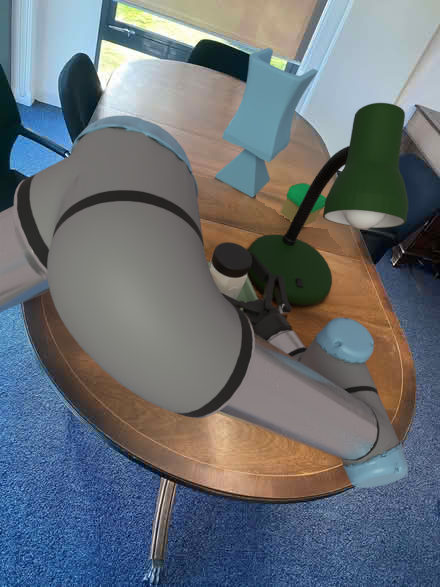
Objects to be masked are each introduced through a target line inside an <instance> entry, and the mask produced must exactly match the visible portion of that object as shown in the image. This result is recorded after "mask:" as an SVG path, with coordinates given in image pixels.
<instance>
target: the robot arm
mask: <svg viewBox="0 0 440 587" xmlns="http://www.w3.org/2000/svg"><path fill="white" fill-rule="evenodd" d="M198 196H199V188H198V182H197V180H196V178H195V176H194V173H193V169H192V166H191V162H190V160H189V157H188V155H187V153H186V151H185V149H184V148H183V146H182V145H181V144H180V143H179V141H178V140H177V139H176V138H175V137H174V136H173V135H172V134H171V133H169V131H167V130H166V129H164V128H163V127H161V126H159V125H158V124H156V123H153V122H151V121H148V120H145V119H143V118H141V117H137V116H133V115H122V114H121V115H111V116H106V117H102V118H100V119H97V120H96V121H94V122H92V123H90V124H89V125H87V126H86V127H85V128H84V129H83V130H82V131H81V132H80V133H79V134H78V136H77V137H76V138H75V139H74V141H73V143H72V144H71V148H70V154H69V155H68V156H66V157H65V158H63V159H61V160H59V161H57V162H56V163H54V164H51V165H50V166H48V167H46V168H43V169H42V170H39V171H38V172H36V173H34V174H32V175H30V176H28V177H27V178H25V179H23V180H21V182H19V184H18V185H17V187H16V188H15V191H14V196H13V205H12V206H10V207H9V208H7V209H4V210H2V211H1V212H0V313H2V312H4V311H7V310H9V309H11V308H14V307H16V306H19V305H21V304H23V303H26V302H28V301H30V300H33V299H35V298H38V297H40V296H43V295H45V294H47V293H50V296H51V300H52V301H53V305H54V308H55V310H56V312H57V313H58V316H59V318H60V320H61V321H62V323H63V324H64V326H65V327H66V329H67V331H68V333H69V334H70V335H71V336H72V338H73V339H74V340H75V341H76V343H77V344H78V345H79V347H80V348H81V349H82V350H83V351H84V352H85V353H86V354H87V355H88V356H89V357H90V359H92V360H93V362H95V363H96V364H97V365H98V366H99V368H100V369H102V370H103V371H104V372H105V373H106V374H108V375H109V376H110V377H111V378H113V379H114V380H115V381H116V382H117V383H119V384H120V385H121V386H123V387H124V388H126V389H127V390H129V391H130V392H132V393H133V394H134V395H137V396H138V397H140V398H141V399H143V400H144V401H147V402H148V403H150V404H153V405H155V406H157V407H158V408H161V409H164V410H166V411H168V412H171V413H174V414H177V415H180V416H183V417H187V418H191V419H203V418H208V417H210V416H212V415H215V414H217V415H221V416H224V417H226V418H229V419H232V420H234V421H237V422H240V423H242V424H245V425H249V426H251V427H254V428H256V429H258V430H262V431H264V432H268V433H269V434H273V435H275V436H278V437H280V438H284V439H285V440H289V441H292V442H294V443H298V444H300V445H303V446H306V447H308V448H311V449H314V450H316V451H319V452H322V453H324V454H328V455H330V456H333V457H335V458H338V459H340V460H341V463H342V468H343V470H344V471H345V473H346V475H347V478H348V480H349V482H350V483H351V485H352V486H353V487H356V488H360V489H369V488H376V487H382V486H386V485H389V484H392V483H394V482H397V481H400V480H401V479H403V478H405V477H406V476H407V474H408V472H409V464H408V461H407V458H406V455H405V452H404V449H403V444H402V442H401V441H400V440H399V438H398V436H397V434H396V431H395V429H394V427H393V424H392V422H391V419H390V417H389V415H388V413H387V410H386V407H385V406H384V404H383V401H382V399H381V397H380V395H379V394H380V393H379V392H378V388H377V386H376V383H375V382H374V379H373V377H372V374H371V373H370V370H369V368H368V366H367V363H366V362H367V361H368V360H370V358H371V356H372V354H373V352H374V348H375V344H374V343H375V341H374V338H373V335H372V334H371V333H370V331H369V330H368V329H367V328H366V327H365V326H364V325H363V324H362V323H360V322H359V321H357V320H355V319H352V318H350V317H335V318H333V319H331V320H329V321H328V322H327V323H326V324H325V326H324V327H323V328H322V329H321V330H319V332H317V334H316V335H315V337H314V339H313V340H312V341H311V343H310V344H309V345H308V347H307V346H306V345H305V343H304V342H303V340H302V339H301V337H299V335H298V333H297V332H296V331H295V330H293V326H292V325H291V323H290V322H289V320H287V318H288V317H289V315H290V313H291V312H292V311H293V308H292V307H293V306H290V304H289V302H288V299H287V294H286V289H285V284H284V278H283V276H282V275H278V276H275V275H274V274H271V273H270V271H269V270H268V269H267V267H266V266H265V265H262V264H261V262H260V261H259V259H258V258H257V257H256V255H255V254H254V253H251V257H252V264H251V268H252V270H253V271H254V273H255V274H256V276H257V277H258V278H259V280H260V281H261V283H263V282H265V280H266V283H265V289H264V294H262V296H263V297H262V299H260V298H258V299H257V300H255V301H249V302H247V303H246V302H243V301H237V300H235V299H233V298H231V297H229V296H227V295H225V294H223V293H221V292H220V290H219V289H218V287H217V285H216V283H215V282H214V280H213V277H212V275H211V272H210V270H209V267H208V263H207V262H208V260H207V257H206V256H207V255H206V250H205V245H204V237H203V230H202V222H201V215H200V208H199V202H198ZM273 286H274V288H275V294H276V300H277V302H276V305H277V306H275V305H273V304H272V302H273V300H272V293H273ZM240 308H243V310H240Z"/></svg>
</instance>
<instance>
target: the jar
mask: <svg viewBox="0 0 440 587" xmlns="http://www.w3.org/2000/svg"><path fill="white" fill-rule="evenodd" d="M209 262H210V263H209V266H208V267H209V270H210V272H211V275H212V277H213V280H214V282H215V283H216V285H217V287H218V289H219V290H220V292H221V293H223V294H225V295H227V296H229V297H231V298H233V299H235V300H237V298H238V296H239V294H240V292H241V289H242V287H243V285H244V283H245V281H246V278H247V276H248V275H247V273H248V271H249V269H250V267H251V264H252V257H251V254H250V253H249V252H248V249H247V248H245V247H244V246H242V245H240V244H238V243H235V242H228V241H227V242H221V243H219V244H217V245H216V247H215V248H214V250H213V252H212V255H211V258H210V261H209Z"/></svg>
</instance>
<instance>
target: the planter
mask: <svg viewBox="0 0 440 587" xmlns="http://www.w3.org/2000/svg"><path fill="white" fill-rule="evenodd" d="M273 52H274V49H272V48H270V47H267V48H264V49H261V50H257V51H255V52H252V53H250V54H249V58H248V60H249V61H248V69H247V77H246V83H245V89H244V92H243V95H242V99H241V102H240V104H239V106H238V108H237V110H236V111H235V114H234V116H233V117H232V119H231V120H230V122H229V124H228V125H227V126H226V128H225V129H224V131H223V133H222V137H221V139H222V140H224V141H226V142H228V143H229V144H232V145H235V146H237V147H240V148H242V149H243V150H242V151H241V152H239V153H238V154H237V155H236V156H235V157H234V158H233V159H231V161H230V162H228V163H227V164H226V165H225V166H224V167H222V168H221V169H220V170H219V171H218V172H217V173H215V177H214V178H215V179H217V180H219V181H221V182H222V183H224V184H226V185H228V186H230V187H231V188H234V189H236V190H238V191H239V192H240V193H243V194H245V195H247V196H248V197H250V198H255V196H256V195H257V194H258V193H259V192H260V191H261V190H262V189H263V188H264V187H265V186H266V185H267V184H268V183H269V182H270V180H271V177H270V174H269V170H268V168H267V164H266V162H267V163H271V162H272V161H273V160H274V159H275V158H276V157H277V156H278V155H279V153H281V152H282V151H283V150H285V149H286V148H287V147H288V145H289V143H290V141H291V132H292V131H291V130H292V124H293V119H294V115H295V112H296V109H297V107H298V105H299V103H300V101H301V99H302V97H303V95H304V93H305V92H306V91H307V89H308V87H309V86H310V85H311V82H312V81H313V80H314V79H315V77H316V75H317V74H318V73H319V70H316V69H315V68H312V69H310V70H308V71H306V72H304V73H303V74H301V75H298V74H294V73H290V72H288V71H285V70H283V69H281V68H279V67H276V66H274V65H273V64H271V61H272V57H273Z"/></svg>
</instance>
